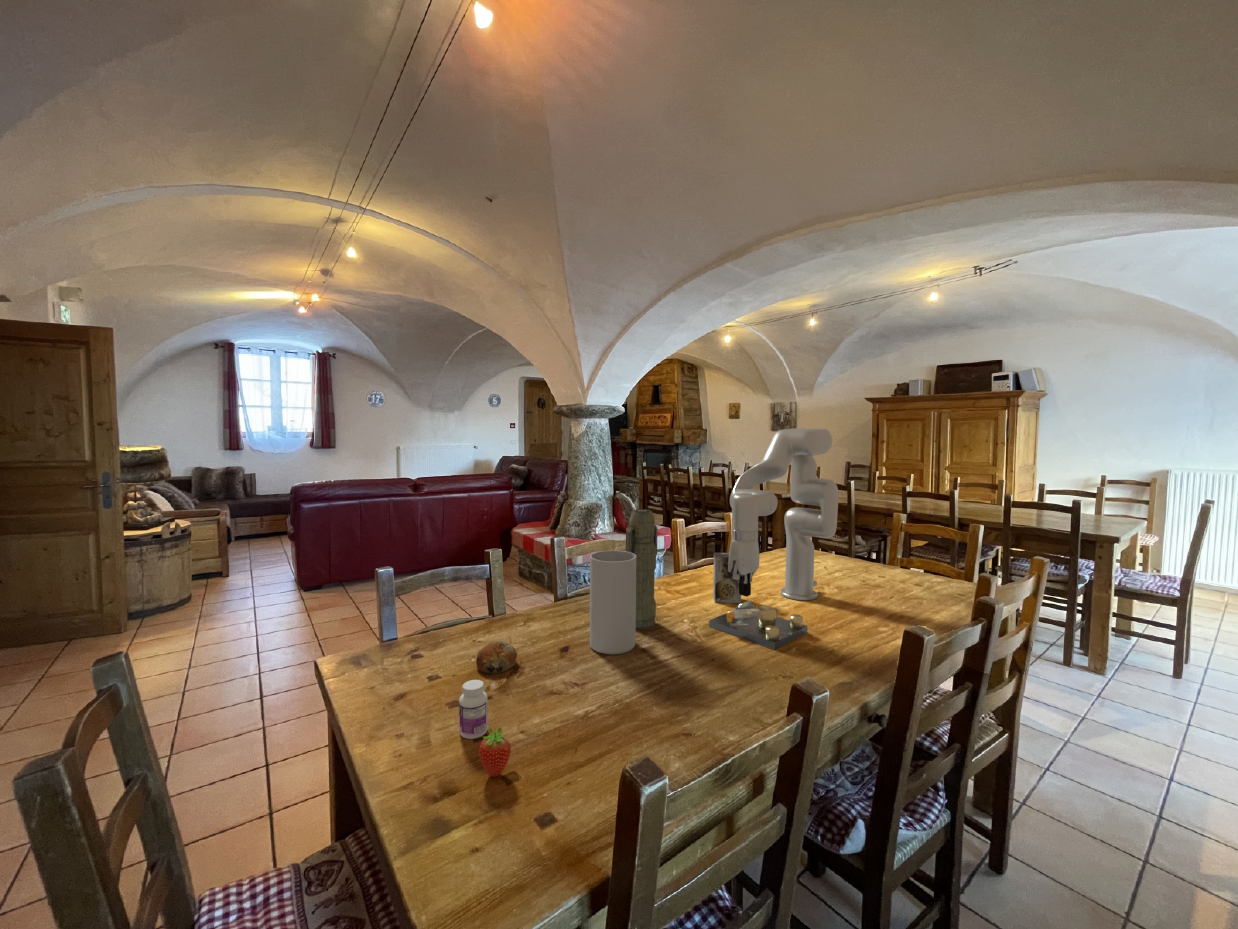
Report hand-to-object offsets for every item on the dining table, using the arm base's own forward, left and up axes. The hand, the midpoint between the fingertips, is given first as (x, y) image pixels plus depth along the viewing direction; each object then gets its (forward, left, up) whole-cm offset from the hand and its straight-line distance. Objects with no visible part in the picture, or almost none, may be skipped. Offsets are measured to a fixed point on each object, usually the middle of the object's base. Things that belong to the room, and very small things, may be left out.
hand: (744, 594), depth 155 cm
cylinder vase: (+39, -16, -10) cm, 43 cm away
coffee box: (-16, -18, -10) cm, 26 cm away
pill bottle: (+86, -4, -10) cm, 87 cm away
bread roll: (+69, -26, -10) cm, 74 cm away
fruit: (+89, +10, -10) cm, 90 cm away
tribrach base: (-1, +4, -10) cm, 11 cm away
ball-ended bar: (+3, +4, -8) cm, 9 cm away
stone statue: (+22, -22, -10) cm, 33 cm away
